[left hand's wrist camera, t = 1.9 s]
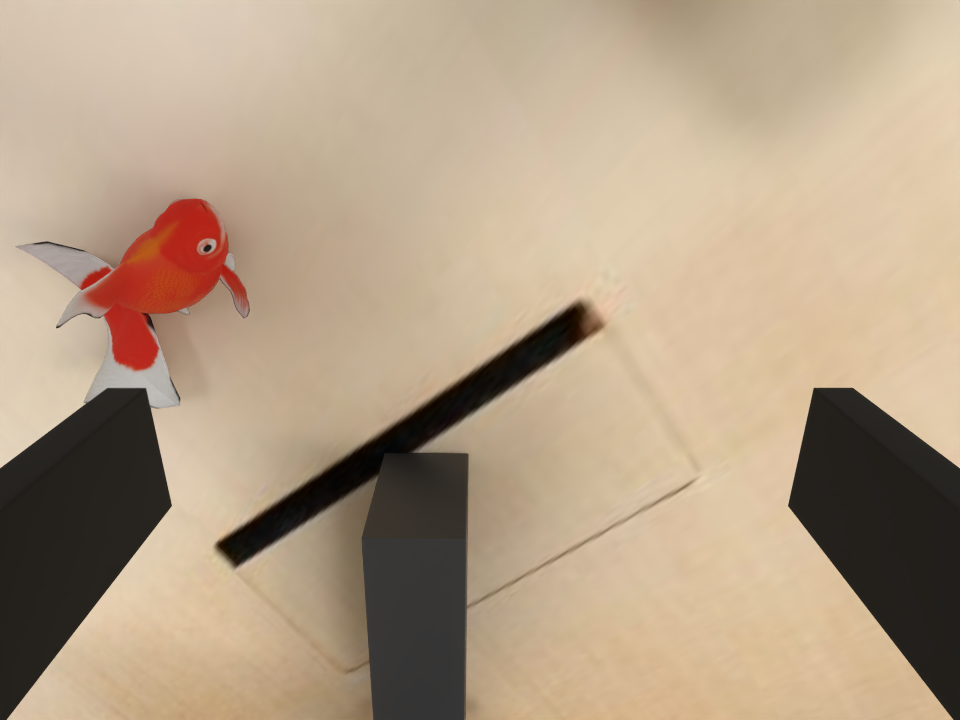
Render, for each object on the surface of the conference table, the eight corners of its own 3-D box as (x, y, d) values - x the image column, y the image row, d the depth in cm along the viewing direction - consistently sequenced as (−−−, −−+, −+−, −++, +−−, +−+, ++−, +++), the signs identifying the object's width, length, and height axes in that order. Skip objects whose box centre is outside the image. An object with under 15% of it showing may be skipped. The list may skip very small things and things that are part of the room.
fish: (337, 342, 35) (170, 390, 27) (192, 409, 44) (34, 461, 36) (265, 160, 35) (74, 152, 26) (134, 265, 43) (-39, 283, 35)
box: (384, 452, 43) (361, 538, 34) (468, 453, 43) (466, 539, 34) (396, 715, 52) (380, 835, 44) (465, 715, 52) (463, 835, 44)
